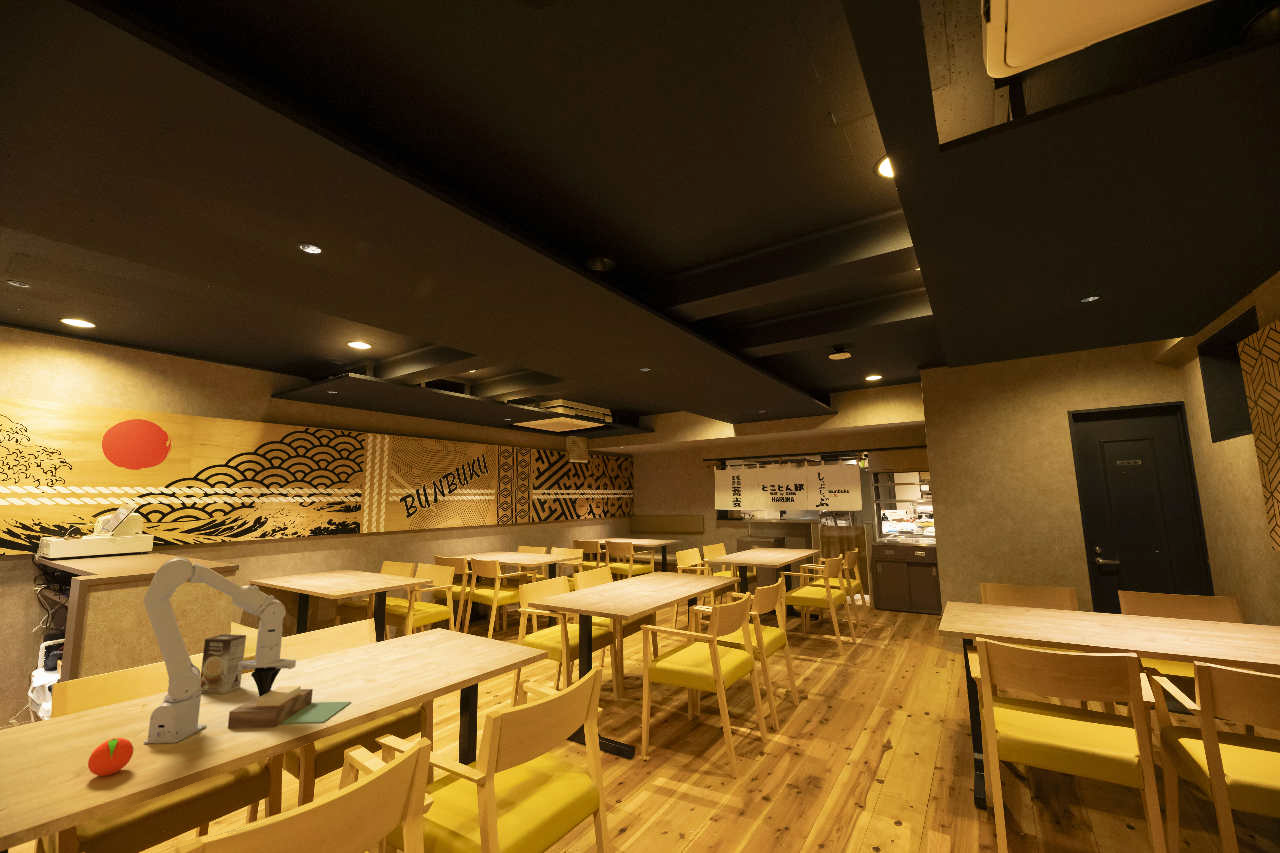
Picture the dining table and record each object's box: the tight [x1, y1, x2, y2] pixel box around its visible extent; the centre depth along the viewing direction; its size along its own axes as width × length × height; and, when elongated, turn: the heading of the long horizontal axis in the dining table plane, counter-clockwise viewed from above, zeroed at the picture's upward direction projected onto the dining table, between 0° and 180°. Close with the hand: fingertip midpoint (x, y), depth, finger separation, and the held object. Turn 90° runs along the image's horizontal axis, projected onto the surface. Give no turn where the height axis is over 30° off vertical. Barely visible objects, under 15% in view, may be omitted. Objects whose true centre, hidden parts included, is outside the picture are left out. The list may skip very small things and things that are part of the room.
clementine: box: [87, 737, 134, 777], centre depth 112 cm, size 8×7×7 cm
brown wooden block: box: [227, 688, 314, 729], centre depth 142 cm, size 16×12×4 cm
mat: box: [280, 701, 352, 725], centre depth 144 cm, size 14×11×1 cm
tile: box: [257, 685, 302, 706], centre depth 143 cm, size 9×6×2 cm, turn 2°
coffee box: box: [199, 633, 247, 695], centre depth 163 cm, size 9×6×16 cm
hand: (264, 696), depth 143 cm, fingers closed
